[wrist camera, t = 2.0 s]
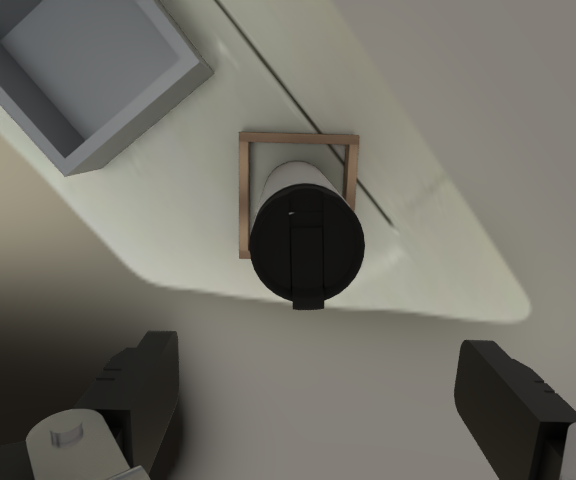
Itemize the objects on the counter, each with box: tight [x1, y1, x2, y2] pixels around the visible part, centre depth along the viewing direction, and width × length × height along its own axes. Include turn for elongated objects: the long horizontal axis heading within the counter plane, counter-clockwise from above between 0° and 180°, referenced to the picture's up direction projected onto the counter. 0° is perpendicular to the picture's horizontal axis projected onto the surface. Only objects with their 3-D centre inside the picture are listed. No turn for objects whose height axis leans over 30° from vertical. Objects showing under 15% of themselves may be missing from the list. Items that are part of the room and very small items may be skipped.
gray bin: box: [0, 0, 214, 177], centre depth 35 cm, size 14×14×7 cm
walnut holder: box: [239, 132, 359, 259], centre depth 40 cm, size 12×11×2 cm
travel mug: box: [249, 161, 365, 310], centre depth 32 cm, size 6×7×20 cm
